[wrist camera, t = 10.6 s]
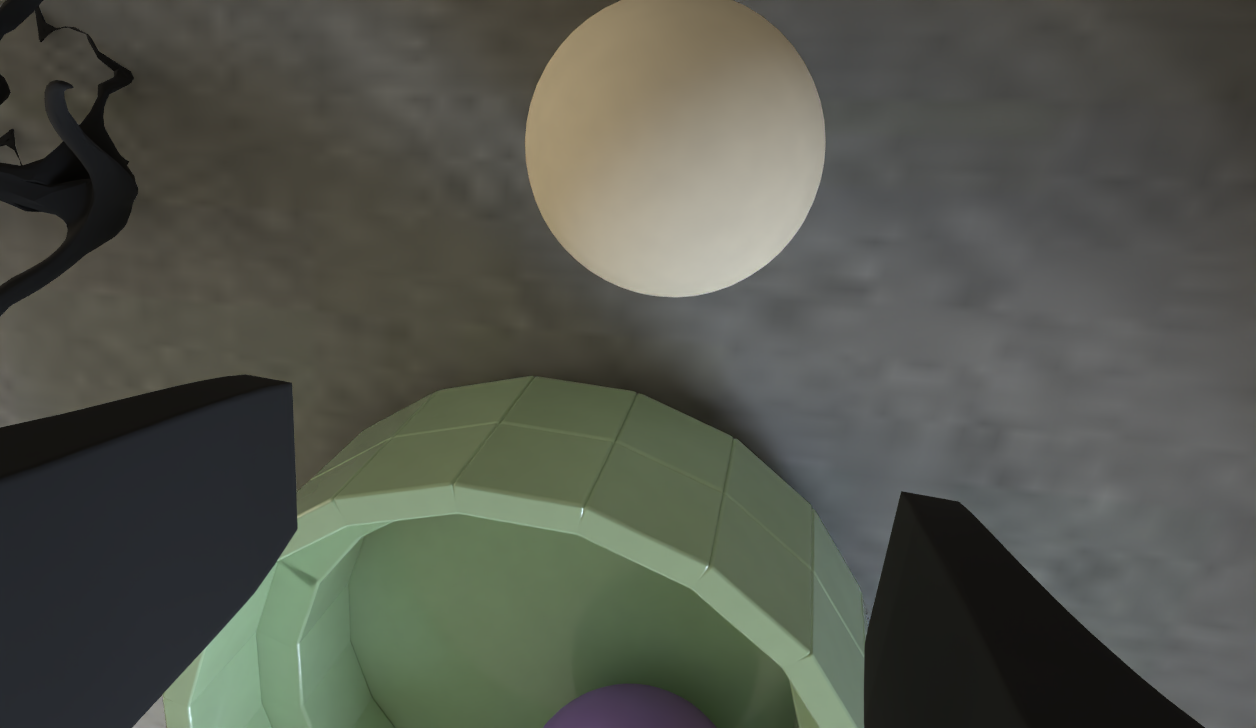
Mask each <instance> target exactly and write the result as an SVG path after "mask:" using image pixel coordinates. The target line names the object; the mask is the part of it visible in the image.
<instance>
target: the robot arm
mask: <svg viewBox="0 0 1256 728" xmlns="http://www.w3.org/2000/svg"><path fill="white" fill-rule="evenodd" d="M297 529H298V522H297V497H296V472H295V447H294V421H293V396H292V383H290V382H284V381H279V380H273V379H267V378H262V377H256V376H251V375H237V376H227V377H220V378H214V379H209V380H203V381H198V382H194V383H189V384H184V385H180V386H175V387H171V388H167V389H163V390H158V391H154V392H150V393H146V394H142V395H138V396H134V397H130V398H125V399H121V400H117V401H113V402H109V403H105V404H101V405H97V406H93V407H89V408H85V409H81V410H77V411H73V412H68V413H64V414H60V415H55V416H51V417H46V418H42V419H37V420H33V421H28V422H24V423H19V424H15V425H10V426H6V427H1V428H0V728H132V727H133V726H134V725H135V724H136V723H137V722H138V720H139V719H140V718H141V717H142V716H143V715H144V714H145V713H146V712H147V711H148V710H149V709H150V707H151V706H152V705H153V704H154V703H155V702H156V701H157V700H158V699H159V698H160V697H161V696H162V694H163V693H164V692H165V691H166V690H167V689H168V688H169V687H170V686H171V685H172V684H173V683H174V681H175V680H176V679H177V678H178V677H179V676H180V675H181V674H182V673H183V672H184V671H185V670H186V668H187V667H188V666H189V665H190V664H191V663H192V662H193V661H194V660H195V659H196V658H197V657H198V656H199V654H200V653H201V652H202V651H203V650H204V649H205V648H206V647H207V646H208V645H209V644H210V643H211V641H212V640H213V639H214V638H215V637H216V636H217V635H218V634H219V633H220V631H221V630H222V629H223V628H224V627H225V626H226V625H227V624H228V623H229V621H230V620H231V619H232V618H233V617H234V616H235V615H236V614H237V613H238V612H239V610H240V609H241V608H242V607H243V606H244V605H245V604H246V602H247V601H248V600H249V599H250V598H251V597H252V596H253V594H254V593H255V592H256V590H257V589H258V588H259V586H260V585H261V583H262V582H263V581H264V579H265V578H266V576H267V575H268V573H269V572H270V571H271V569H272V568H273V566H274V565H275V563H276V562H277V560H278V559H279V557H280V556H281V554H282V553H283V551H284V550H285V548H286V546H287V545H288V543H289V542H290V540H291V539H292V537H293V536H294V534H295V533H296V531H297ZM864 728H1205V727H1203V726H1202V725H1201V724H1199V723H1198V722H1197V721H1196V720H1194V719H1193V718H1192V717H1190V716H1189V715H1188V714H1186V713H1185V712H1184V711H1182V710H1181V709H1180V708H1178V707H1177V706H1176V705H1175V704H1173V703H1172V702H1171V701H1169V700H1168V699H1167V698H1166V697H1164V696H1163V695H1162V694H1161V693H1159V692H1158V691H1157V690H1156V689H1155V688H1153V687H1152V686H1151V685H1150V684H1148V683H1147V682H1146V681H1145V680H1144V679H1142V678H1141V677H1140V676H1139V675H1138V674H1137V673H1135V672H1134V671H1133V670H1132V669H1131V668H1130V667H1129V666H1127V665H1126V664H1125V663H1124V662H1123V661H1122V660H1121V659H1120V658H1118V657H1117V656H1116V655H1115V654H1114V653H1113V652H1112V651H1111V650H1109V649H1108V648H1107V647H1106V646H1105V645H1104V644H1103V643H1102V642H1100V641H1099V640H1098V639H1097V638H1096V637H1095V636H1094V635H1092V634H1091V633H1090V632H1089V631H1088V630H1087V629H1086V628H1085V627H1084V626H1083V625H1082V624H1081V623H1080V622H1079V621H1078V620H1077V619H1075V618H1074V617H1073V616H1072V615H1071V614H1070V613H1069V612H1068V611H1067V610H1066V609H1065V608H1064V607H1063V606H1062V605H1061V604H1060V603H1059V602H1058V601H1057V600H1056V599H1055V598H1054V597H1053V596H1052V595H1051V594H1050V593H1049V592H1048V591H1047V590H1046V589H1045V588H1044V587H1043V586H1042V585H1041V584H1040V583H1039V582H1038V581H1037V580H1036V579H1035V578H1034V577H1033V576H1032V575H1031V574H1030V573H1029V572H1028V571H1027V570H1026V569H1025V568H1024V567H1023V566H1022V565H1021V564H1020V563H1019V562H1018V561H1017V560H1016V559H1015V558H1014V557H1013V556H1012V555H1011V553H1010V552H1009V551H1008V550H1007V549H1006V548H1005V547H1004V546H1003V545H1002V544H1001V543H1000V542H999V541H998V540H997V539H996V538H995V537H994V536H993V535H992V534H991V533H990V532H989V530H988V529H987V528H986V527H985V526H984V525H983V524H982V523H981V522H980V521H979V520H978V519H977V518H976V517H975V516H974V515H973V514H972V513H971V512H970V511H969V510H968V509H967V508H965V507H964V506H963V505H962V504H961V503H960V502H958V501H952V500H947V499H941V498H935V497H930V496H924V495H919V494H913V493H907V492H902V491H901V495H900V499H899V503H898V507H897V512H896V516H895V520H894V524H893V528H892V532H891V536H890V540H889V544H888V549H887V553H886V557H885V561H884V565H883V569H882V573H881V577H880V582H879V586H878V590H877V594H876V598H875V602H874V606H873V610H872V614H871V619H870V623H869V627H868V631H867V635H866V639H865V646H864Z"/></svg>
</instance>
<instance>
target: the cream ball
mask: <svg viewBox="0 0 1256 728" xmlns="http://www.w3.org/2000/svg"><path fill="white" fill-rule="evenodd" d="M825 145H826V138H825V122H824V116H823V111H822V106H821V101H820V98H819V95H818V92H817V89H816V87H815V84H814V81H813V79H812V77H811V75H810V73H809V71H808V69H807V67H806V65H805V63H804V61H803V60H802V58H801V57H800V55H799V54H798V53H797V51H796V50H795V48H794V47H793V45H792V44H791V43H790V42H789V41H788V40H787V39H786V38H785V36H784V35H783V34H782V33H781V32H780V31H779V30H778V29H777V28H776V27H774V26H773V25H772V24H771V23H770V22H768V21H767V20H766V19H765V18H764V17H762V16H761V15H759V14H758V13H756V12H754V11H753V10H751V9H750V8H748V7H746V6H745V5H742V4H740V3H738V2H735V1H733V0H621V1H619V2H617V3H614V4H612V5H610V6H608V7H606V8H604V9H602V10H601V11H599V12H598V13H596V14H595V15H593V16H591V17H590V18H588V19H587V20H586V21H585V22H583V23H582V24H581V25H580V26H579V27H578V28H576V29H575V30H574V31H573V32H572V33H571V34H570V35H569V36H568V37H567V39H566V40H565V41H564V42H563V43H562V44H561V45H560V47H559V48H558V49H557V51H556V52H555V54H554V55H553V57H552V58H551V60H550V61H549V63H548V64H547V66H546V68H545V70H544V72H543V74H542V76H541V78H540V80H539V82H538V84H537V86H536V89H535V92H534V95H533V98H532V101H531V104H530V109H529V113H528V118H527V124H526V137H525V151H526V164H527V170H528V176H529V181H530V184H531V188H532V191H533V194H534V198H535V201H536V203H537V205H538V207H539V210H540V212H541V214H542V217H543V218H544V220H545V222H546V223H547V225H548V227H549V228H550V230H551V232H552V233H553V234H554V236H555V237H556V238H557V240H558V241H559V242H560V244H561V245H562V246H563V247H564V248H565V249H566V250H567V251H568V252H569V253H570V254H571V255H572V256H573V257H574V258H575V259H576V260H577V261H578V262H579V263H581V264H582V265H583V266H584V267H586V268H587V269H588V270H589V271H591V272H593V273H594V274H596V275H597V276H599V277H601V278H602V279H604V280H606V281H608V282H610V283H613V284H615V285H617V286H619V287H621V288H625V289H628V290H631V291H634V292H638V293H642V294H647V295H653V296H659V297H687V296H697V295H701V294H706V293H711V292H714V291H717V290H720V289H723V288H726V287H729V286H731V285H733V284H735V283H737V282H739V281H741V280H743V279H745V278H747V277H749V276H750V275H752V274H753V273H755V272H756V271H758V270H759V269H761V268H762V267H764V266H765V265H767V264H768V263H769V262H770V261H771V260H772V259H773V258H774V257H776V256H777V255H778V254H779V253H780V252H781V251H782V250H783V249H784V248H785V246H786V245H787V244H788V243H789V242H790V241H791V240H792V238H793V237H794V236H795V234H796V233H797V231H798V230H799V228H800V227H801V225H802V224H803V222H804V220H805V218H806V216H807V214H808V212H809V210H810V208H811V206H812V204H813V202H814V199H815V196H816V193H817V190H818V187H819V184H820V181H821V176H822V171H823V166H824V160H825Z"/></svg>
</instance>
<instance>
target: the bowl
mask: <svg viewBox="0 0 1256 728" xmlns="http://www.w3.org/2000/svg"><path fill="white" fill-rule="evenodd" d="M296 497H297V522H298V529H297V531H296V533H295V534H294V536H293V537H292V539H291V540H290V542H289V543H288V545H287V546H286V548H285V550H284V551H283V553H282V554H281V556H280V557H279V559H278V560H277V562H276V563H275V565H274V566H273V568H272V569H271V571H270V572H269V573H268V575H267V576H266V578H265V579H264V581H263V582H262V583H261V585H260V586H259V588H258V589H257V590H256V592H255V593H254V594H253V596H252V597H251V598H250V599H249V600H248V601H247V602H246V604H245V605H244V606H243V607H242V608H241V609H240V610H239V612H238V613H237V614H236V615H235V616H234V617H233V618H232V619H231V620H230V621H229V623H228V624H227V625H226V626H225V627H224V628H223V629H222V630H221V631H220V633H219V634H218V635H217V636H216V637H215V638H214V639H213V640H212V641H211V643H210V644H209V645H208V646H207V647H206V648H205V649H204V650H203V651H202V652H201V653H200V654H199V656H198V657H197V658H196V659H195V660H194V661H193V662H192V663H191V664H190V665H189V666H188V667H187V668H186V670H185V671H184V672H183V673H182V674H181V675H180V676H179V677H178V678H177V679H176V680H175V681H174V683H173V684H172V685H171V686H170V687H169V688H168V689H167V690H166V691H165V692H164V693H163V697H164V698H163V705H164V712H165V720H166V727H167V728H543V727H544V725H545V724H546V723H547V722H548V721H549V720H550V719H551V718H552V717H553V716H554V715H555V714H556V713H557V712H558V711H559V710H560V709H561V708H562V707H564V706H565V705H567V704H568V703H569V702H571V701H572V700H574V699H576V698H577V697H579V696H581V695H583V694H585V693H587V692H589V691H592V690H595V689H598V688H601V687H605V686H610V685H615V684H625V683H627V684H643V685H649V686H654V687H658V688H661V689H664V690H667V691H670V692H672V693H674V694H676V695H678V696H680V697H682V698H684V699H685V700H687V701H689V702H690V703H692V704H693V705H694V706H696V707H697V708H698V709H700V710H701V711H702V712H703V713H704V714H705V715H706V716H707V717H708V718H709V719H710V720H711V721H712V722H713V724H714V725H715V726H716V727H717V728H864V646H865V639H866V635H867V631H868V624H867V619H866V613H865V607H864V601H863V595H862V593H861V591H860V587H859V585H858V584H857V582H856V580H855V578H854V577H853V575H852V573H851V571H850V570H849V568H848V566H847V565H846V563H845V561H844V559H843V558H842V556H841V554H840V553H839V551H838V549H837V547H836V546H835V544H834V542H833V540H832V539H831V537H830V535H829V534H828V532H827V530H826V528H825V527H824V525H823V523H822V522H821V520H820V518H819V516H818V515H817V513H816V511H815V510H814V509H813V508H812V506H811V505H810V504H809V503H808V502H807V501H806V500H805V499H804V498H803V497H802V496H800V495H799V494H798V493H797V492H796V491H795V490H794V489H793V488H791V487H790V486H789V485H788V484H787V483H786V482H785V481H784V480H782V479H781V478H780V477H779V476H778V475H777V474H776V473H775V472H774V471H772V470H771V469H770V468H769V467H768V466H767V465H766V464H765V463H763V462H762V461H761V460H760V459H759V458H758V457H757V456H756V455H754V454H753V453H752V452H751V451H750V450H749V449H748V448H747V447H746V446H744V445H743V444H742V443H741V442H740V441H739V440H738V439H736V438H735V439H734V438H733V437H732V436H731V435H728V434H726V433H724V432H722V431H720V430H718V429H716V428H713V427H711V426H709V425H707V424H705V423H703V422H701V421H699V420H696V419H694V418H692V417H690V416H688V415H686V414H684V413H682V412H679V411H677V410H675V409H673V408H671V407H669V406H667V405H664V404H662V403H660V402H658V401H656V400H654V399H652V398H650V397H647V396H645V395H643V394H640V393H638V394H636V392H634V391H629V390H623V389H616V388H610V387H603V386H597V385H590V384H584V383H577V382H571V381H564V380H558V379H551V378H544V377H534V376H527V377H521V378H514V379H508V380H501V381H495V382H488V383H482V384H475V385H469V386H462V387H456V388H449V389H443V390H440V391H436V392H434V393H432V394H430V395H428V396H426V397H424V398H423V399H421V400H419V401H417V402H415V403H413V404H411V405H410V406H408V407H406V408H404V409H402V410H400V411H398V412H397V413H395V414H393V415H391V416H389V417H387V418H385V419H383V420H382V421H380V422H378V423H376V424H374V425H372V426H370V427H369V428H367V429H365V430H363V431H362V432H361V433H360V434H359V435H358V436H357V437H356V438H355V439H353V440H352V441H351V442H350V443H349V444H348V445H347V446H346V447H345V448H344V449H343V450H342V451H341V452H340V453H339V454H337V455H336V456H335V457H334V458H333V459H332V460H331V461H330V462H329V463H328V464H327V465H326V466H325V467H324V468H322V469H321V470H320V471H319V472H318V473H317V474H316V475H315V476H314V477H313V478H312V479H311V480H310V481H309V482H308V483H307V484H305V485H304V486H303V487H302V488H301V489H300V490H299V491H298V492H297V493H296Z"/></svg>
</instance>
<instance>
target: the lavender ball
mask: <svg viewBox="0 0 1256 728" xmlns="http://www.w3.org/2000/svg"><path fill="white" fill-rule="evenodd" d="M543 728H717V727H716V726H715V725H714V724H713V722H712V721H711V720H710V719H709V718H708V717H707V716H706V715H705V714H704V713H703V712H702V711H701V710H700V709H698V708H697V707H696V706H694V705H693V704H692V703H690V702H689V701H687V700H685V699H684V698H682V697H680V696H678V695H676V694H674V693H672V692H670V691H667V690H664V689H661V688H658V687H654V686H649V685H643V684H627V683H625V684H615V685H610V686H605V687H601V688H598V689H595V690H592V691H589V692H587V693H585V694H583V695H581V696H579V697H577V698H576V699H574V700H572V701H571V702H569V703H568V704H567V705H565V706H564V707H562V708H561V709H560V710H559V711H558V712H557V713H556V714H555V715H554V716H553V717H552V718H551V719H550V720H549V721H548V722H547V723H546V724H545V725H544V727H543Z"/></svg>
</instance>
